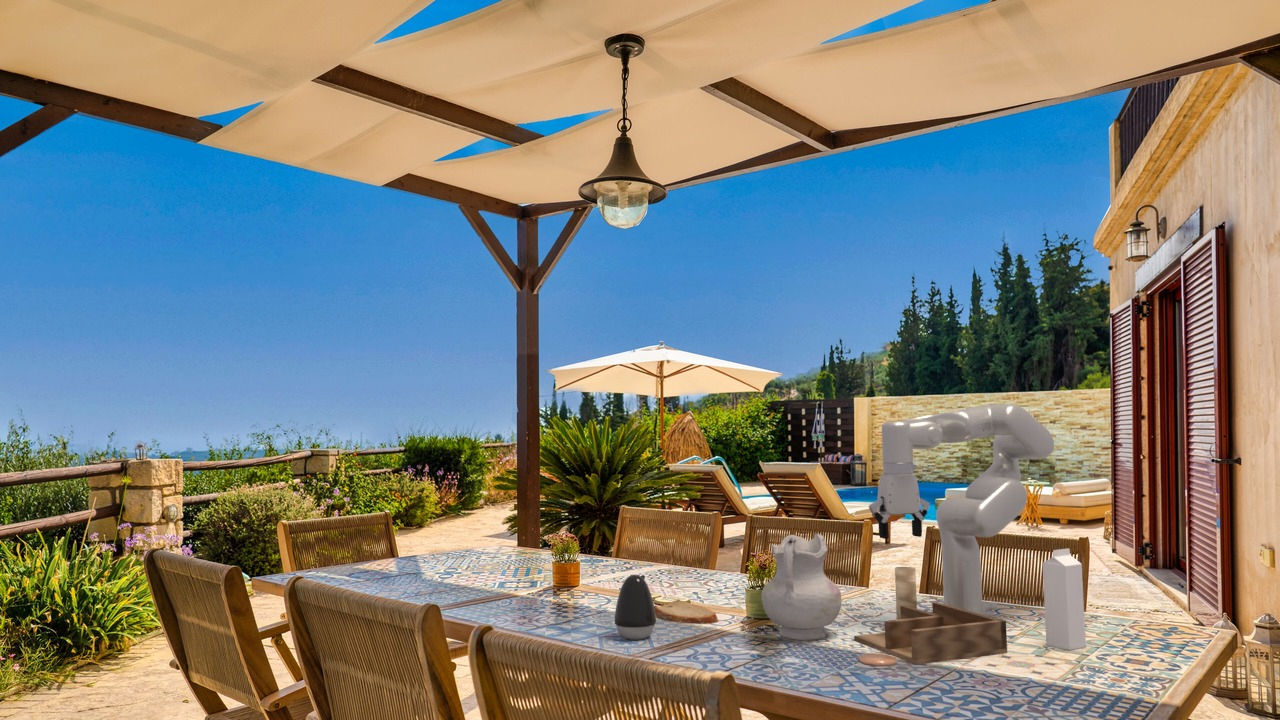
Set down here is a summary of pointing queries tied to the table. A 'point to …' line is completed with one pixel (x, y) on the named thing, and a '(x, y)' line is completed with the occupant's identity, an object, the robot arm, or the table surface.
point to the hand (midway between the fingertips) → (900, 537)
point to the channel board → (939, 635)
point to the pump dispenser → (635, 609)
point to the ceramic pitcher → (801, 589)
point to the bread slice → (685, 613)
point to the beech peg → (905, 588)
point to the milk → (1064, 601)
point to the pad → (877, 659)
